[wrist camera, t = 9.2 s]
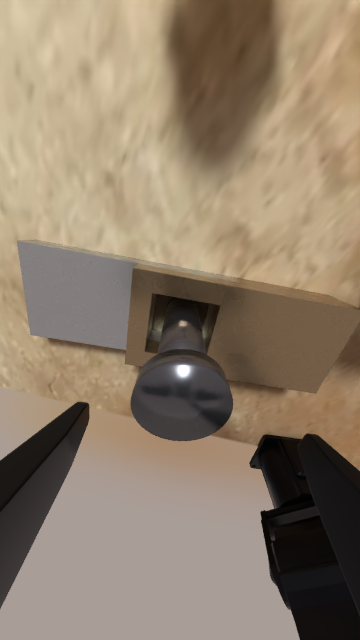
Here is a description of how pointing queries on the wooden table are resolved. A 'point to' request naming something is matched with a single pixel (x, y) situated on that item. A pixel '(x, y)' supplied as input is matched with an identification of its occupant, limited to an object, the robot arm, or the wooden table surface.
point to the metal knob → (181, 382)
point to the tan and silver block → (218, 290)
